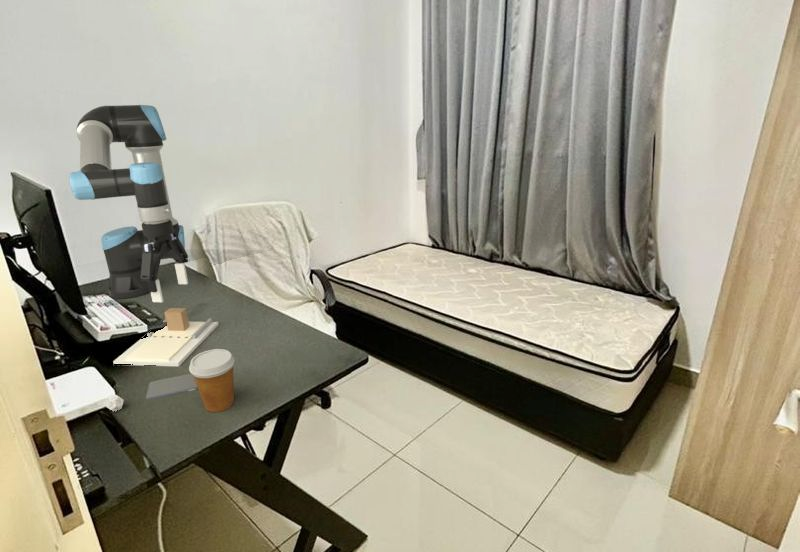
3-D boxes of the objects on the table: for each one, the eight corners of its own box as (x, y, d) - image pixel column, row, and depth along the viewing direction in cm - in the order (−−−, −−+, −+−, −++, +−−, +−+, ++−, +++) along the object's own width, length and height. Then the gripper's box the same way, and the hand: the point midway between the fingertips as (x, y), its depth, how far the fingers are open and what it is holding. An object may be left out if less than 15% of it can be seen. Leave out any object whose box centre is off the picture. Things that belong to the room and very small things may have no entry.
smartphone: (148, 381, 114) (213, 368, 119) (149, 384, 114) (213, 371, 119) (144, 398, 107) (213, 384, 112) (145, 402, 108) (213, 387, 112)
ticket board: (163, 323, 145) (162, 317, 144) (218, 324, 143) (217, 318, 142) (113, 364, 122) (111, 357, 121) (178, 366, 121) (177, 358, 120)
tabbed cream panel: (167, 324, 141) (162, 304, 139) (204, 324, 141) (200, 305, 138) (152, 336, 134) (147, 316, 132) (191, 337, 133) (187, 317, 131)
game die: (104, 410, 104) (100, 399, 103) (120, 402, 107) (117, 391, 106) (112, 415, 102) (109, 404, 101) (128, 406, 105) (125, 395, 104)
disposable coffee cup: (249, 402, 106) (241, 357, 102) (209, 422, 99) (200, 375, 95) (228, 386, 112) (220, 343, 108) (189, 405, 105) (180, 359, 101)
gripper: (142, 232, 113) (159, 310, 121) (192, 210, 137) (204, 277, 144) (113, 232, 114) (132, 310, 121) (168, 211, 137) (181, 277, 145)
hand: (171, 292), depth 133 cm, fingers open, 13 cm apart
